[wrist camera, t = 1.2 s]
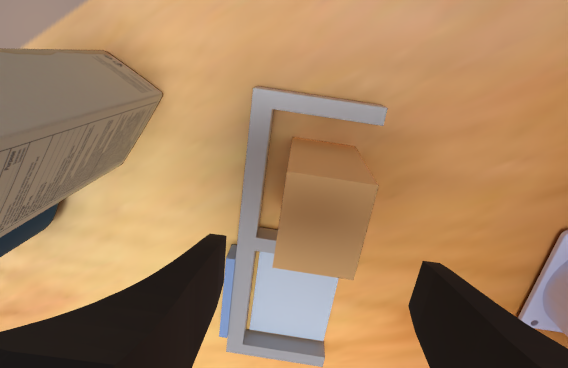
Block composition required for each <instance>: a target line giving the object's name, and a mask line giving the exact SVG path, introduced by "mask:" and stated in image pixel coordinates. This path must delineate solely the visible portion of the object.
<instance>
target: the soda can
mask: <svg viewBox="0 0 568 368" xmlns="http://www.w3.org/2000/svg"><path fill="white" fill-rule="evenodd" d="M58 203H59V202H58ZM58 203H57V204H55V205H53V206H52V207H50V208H48V209H47V210H45V211H43V212H42V213H40V214H38V215H37V216H35V217H33V218H32V219H30V220H28V221H27V222H25V223H23V224H22V225H20V226H18V227H17V228H15V229H13V230H12V231H10V232H9V233H7V234H5V235H4V236H2V237H0V257H1V256H3V255H5V254H6V253H8V252H9V251H11V250H12V249H14V248H16V247H17V246H19V245H20V244H22V243H23V242H25V241H27V240H28V239H30V238H31V237H33V236H35V235H36V234H38V233H39V232H41V231H42V230H44V229H45V228H46V227H47V226H48V225H49V224H50V223H51V221H52V220H53V218H54V216H55V213H56V210H57V207H58Z"/></svg>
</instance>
